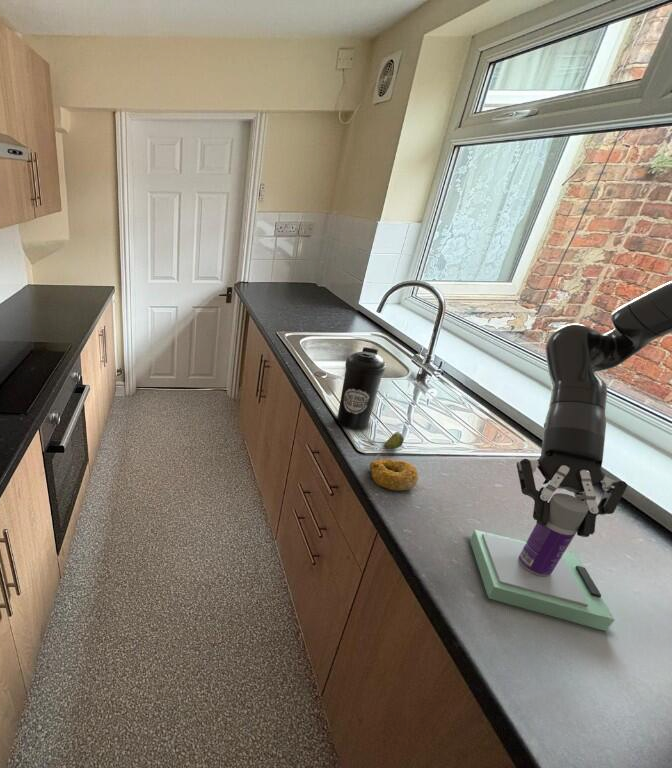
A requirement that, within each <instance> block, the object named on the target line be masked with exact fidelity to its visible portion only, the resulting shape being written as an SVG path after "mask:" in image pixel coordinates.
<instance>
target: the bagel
mask: <svg viewBox="0 0 672 768" xmlns="http://www.w3.org/2000/svg"><path fill="white" fill-rule="evenodd" d="M369 469H370V470H371V475H372V476H371V477H372V478H373V482H375V483H376V485H378V486H380V487H382V488H385V489H387V490H391V491H406V490H410V489H413V488H414V487H415V486H417V483H418V481H419V475H418V471H417V469H416V467H415V466H414V465H412V464H411V463H410V462H408V461H405V460H395V459H391V458H380V459H377V460H372V461H371V462H370V463H369Z"/></svg>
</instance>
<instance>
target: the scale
mask: <svg viewBox="0 0 672 768" xmlns="http://www.w3.org/2000/svg"><path fill="white" fill-rule="evenodd" d="M469 542H470V546H471V548H472V549H471V550H472V552H473V554H474V558H475V561H476V564H477V567H478V570H479V573H480V576H481V579H482V583H483V586H484V588H485V592H486V594H487V598H488V599H491V600H493V601H497V602H500V603H505V604H508V605H511V606H515V607H517V608H518V607H519V608H522V609H526V610H529V611H532V612H536V613H540V614H542V615H547V616H550V617H554V618H557V619H561V620H564V621H568V622H572V623H575V624H579V625H582V626H586V627H589V628H593V629H597V630H600V631H603V632H607V631H608V629H609V627H611V625H612V624H613V623H614V622H615V618H614V616H613V614H612V612H611V610H610V609H609V607H608V606H607V604H606V603H605V601H604V598H602V594H601V592H600V590H599V589H598V587H597V585H596V584H595V582H594V580H593V579H592V577H591V575H590V574H589V572H588V570H587V569H586V567H585V566H584V565H583V564H582V562H581V560H580V558H579V556H578V555H577V553H575V552H571V551H566V550H565V552H564V554H563V555H562V557H561V559H560V560H559V562H558V564H557V565H556V567H555V568H554V570H553V572H552V573H551V575H550V576H547V577H543V576H538V575H535V574H533V573H531V572H529V571H527V570H526V569H525V568H523V567H522V566H521V564H520V563H519V561H518V557H519V555H520V553H521V552H522V550H523V548H524V546H525V544H526V542H527V541H524V540H521V539H515V538H512V537H507V536H503V535H499V534H495V533H491V532H486V531H482V530H478V529H474V530H473V532H472V534H471V536H470V539H469Z"/></svg>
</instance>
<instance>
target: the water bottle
mask: <svg viewBox="0 0 672 768" xmlns="http://www.w3.org/2000/svg"><path fill="white" fill-rule="evenodd" d="M378 352H379V349H376V348H372V347H366V346H363V349H362V350H361V351H357V352H354V353H352V354H350V355H349V356H348V357H347V358H346V360H345V364H344V366H345V372H344V378H343V385H342V389H341V395H340V401H339V406H338V413H337V418H336V420H337V423H338V424H339V425H341V426H342V427H344V428H346V429H349V430H353V431H354V430H355V431H362V430H365V429H366V428H368V425H369V422H370V418H371V415H372V412H373V409H374V405H375V402H376V398H377V394H378V392H379V388H380V385H381V381H382V377H383V375H384V374H385V372H386V368H387V363H385V360H384V359H383V357H381V356H380V355H378Z"/></svg>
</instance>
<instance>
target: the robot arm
mask: <svg viewBox="0 0 672 768" xmlns="http://www.w3.org/2000/svg"><path fill="white" fill-rule="evenodd" d="M610 321H611V323H612V326H613V327H614V328H613V329H612V330H610V331H608V332H606V333H603V332H600V331H598V330H596V329H594V328H592V327H590V326H587V325H585V324H580V323H568V324H565V325H563V326H560V327H559V328H557V329H556V330H554V332H552V334H551V335H550V337H549V338H548V340H547V342H546V344H545V345H546V346H545V361H546V366H547V371H548V375H549V379H550V383H551V391H550V398H549V404H548V410H547V413H546V416H545V421H544V424H543V436H542V443H541V450H540V457H539V458H538V459H537V460H530V459H528V458H523V459H521V460H519V461H517V462H516V470H517V474H518V480H519V484H520V489H521V493H522V494H523V495H525V496H528V497H529V498H531V499H533V502H534V504H533V512H532V518H533V520H534V521H536V524H539V525H547V522H548V515H549V507H550V503H549V501H550V499H551V498H552V496H553V495H554V493H555V491H557V490H558V489H560V490H562V489H563V490H566V491H568V492H571V493H573V495H574V497H576V498H578V499H580V500H581V501H583V502H584V503H585V504H586V505H587V506H588V508H589V510H588V512H587V514H586V516H585V517H584V519H583V521H582V523H581V525H580V527H579V528H578V530H577V532H576V535H577V536H578V537H581V538H589V537H590V535H594V533H595V531H596V520H597V516H604V515H612V514H614V513H615V511H616V509H617V507H618V505H619V503H620V501H621V499H622V498H623V496H624V493H625V492H626V490H627V487H628V484H627V483H626V481H623V480H618V481H617V480H615V479H613V478H610V477H609V476H606V475H605V472H604V470H603V468H602V466H603V460H604V451H605V450H604V449H605V441H606V429H607V419H606V418H607V417H606V407H607V397H608V386H607V383H606V382H605V381H604V380H603V378H601V377H600V376H599V375H598V374H597V373H600V372H604V371H608V370H611V369H613V368H615V367H617V366H620V365H621V364H623V363H624V362H626V361H627V360H628V359H630V358H631V357H633V356H635V354H637V353H638V352H640V351H641V350H643V349H644V348H645V347H646V346H649V344H651V343H652V342H653V341H655V340H657V339H660V338H662V337H664V336H667V335H669V334H671V333H672V280H671V281H669V282H667V283H665V284H662V285H660V286H658V287H656V288H653V289H652V290H650V291H648V292H647V293H644V294H642V295H641V296H639V297H636V298H634V299H633V300H631V301H629V302H626V303H625V304H623V305H621V306H620V307H618V308H616V309H614V311H613V312H612V313H611V316H610ZM537 469H538V470H539V472H540V474H541V476H543V478H544V480H543V481H542V482H541V484H540V485H539V487H538V489H537V487H536V482H535V477H534V473H535V472H536V471H537ZM600 483H601V485H602V486H601V487H602V491H604V492H603V494H602V496H601V498H600V500H599V502H598V504H597V501H596V499H597V495H596V491H595V489H594V487H595V486H596V485H598V484H600Z"/></svg>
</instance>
